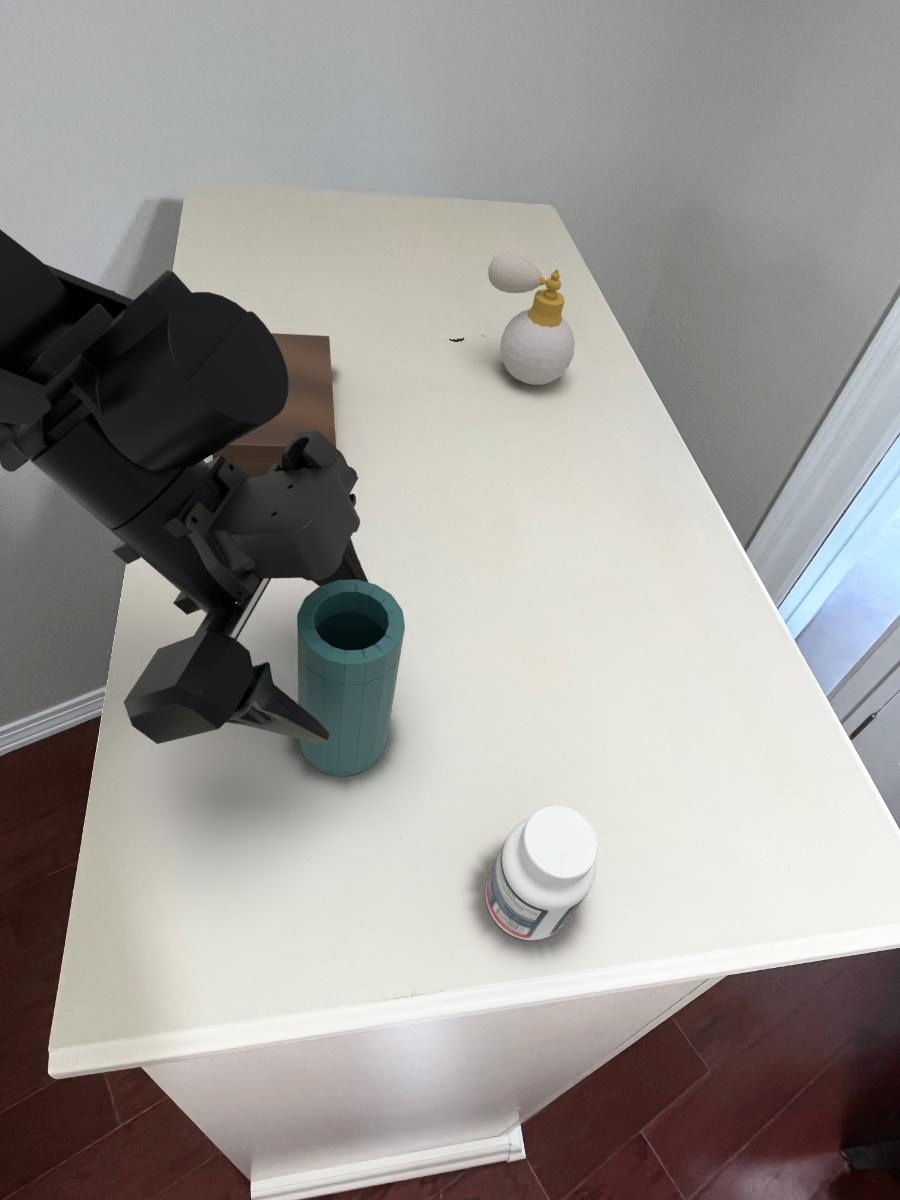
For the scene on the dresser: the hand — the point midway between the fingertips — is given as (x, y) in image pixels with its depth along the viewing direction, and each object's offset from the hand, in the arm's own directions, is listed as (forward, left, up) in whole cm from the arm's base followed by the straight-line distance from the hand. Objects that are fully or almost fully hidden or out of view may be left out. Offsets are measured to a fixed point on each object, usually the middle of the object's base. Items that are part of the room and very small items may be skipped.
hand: (351, 675), depth 47 cm
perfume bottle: (+4, +46, -8) cm, 47 cm away
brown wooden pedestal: (-16, +29, -8) cm, 34 cm away
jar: (0, 0, -8) cm, 8 cm away
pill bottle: (+14, -7, -8) cm, 17 cm away
